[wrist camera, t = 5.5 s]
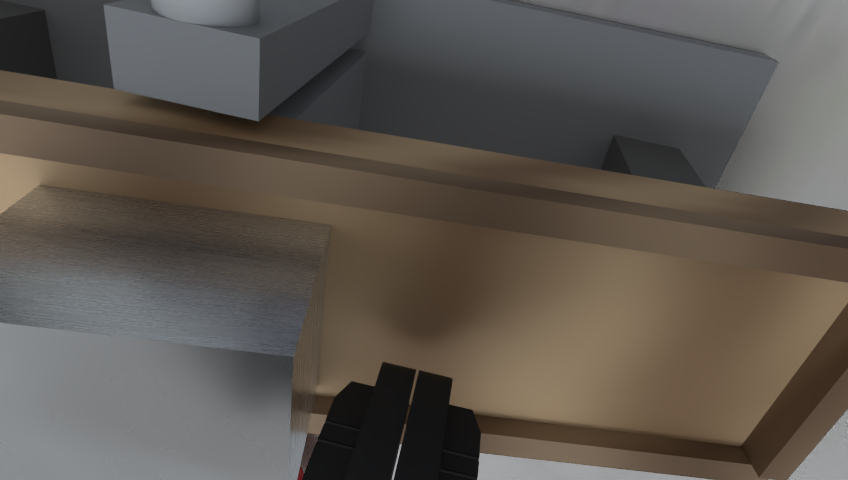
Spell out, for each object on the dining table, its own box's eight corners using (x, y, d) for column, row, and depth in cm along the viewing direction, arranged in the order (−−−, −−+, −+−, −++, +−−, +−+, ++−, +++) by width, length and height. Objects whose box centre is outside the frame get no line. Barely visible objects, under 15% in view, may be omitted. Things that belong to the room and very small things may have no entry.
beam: (877, 215, 13) (982, 290, 11) (729, 425, 18) (781, 515, 15) (-646, -38, 10) (-990, -17, 8) (-398, 286, 15) (-571, 368, 12)
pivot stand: (779, 23, 18) (1053, 136, 9) (626, 334, 26) (689, 575, 16) (-68, -155, 19) (-619, -222, 10) (16, 194, 27) (-254, 345, 17)
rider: (331, 224, 12) (293, 356, 8) (317, 386, 14) (285, 536, 11) (39, 184, 11) (-126, 307, 8) (80, 359, 14) (-31, 509, 11)
